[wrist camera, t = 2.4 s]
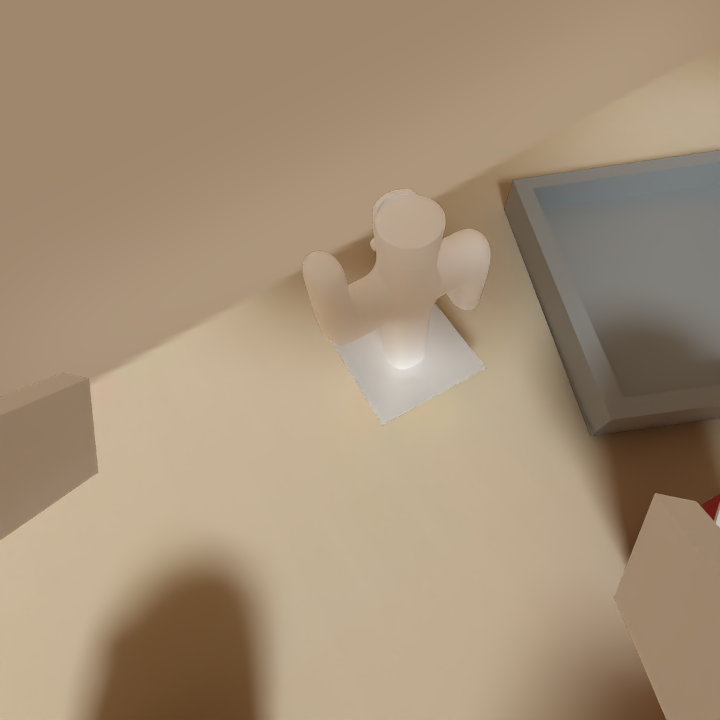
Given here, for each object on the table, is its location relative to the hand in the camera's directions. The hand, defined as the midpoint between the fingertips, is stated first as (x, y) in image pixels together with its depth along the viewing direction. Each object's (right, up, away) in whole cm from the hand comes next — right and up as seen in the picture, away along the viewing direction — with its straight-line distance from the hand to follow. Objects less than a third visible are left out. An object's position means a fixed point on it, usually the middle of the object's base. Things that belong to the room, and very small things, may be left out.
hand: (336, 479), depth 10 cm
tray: (+24, +8, +22) cm, 33 cm away
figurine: (+4, +2, +20) cm, 21 cm away
